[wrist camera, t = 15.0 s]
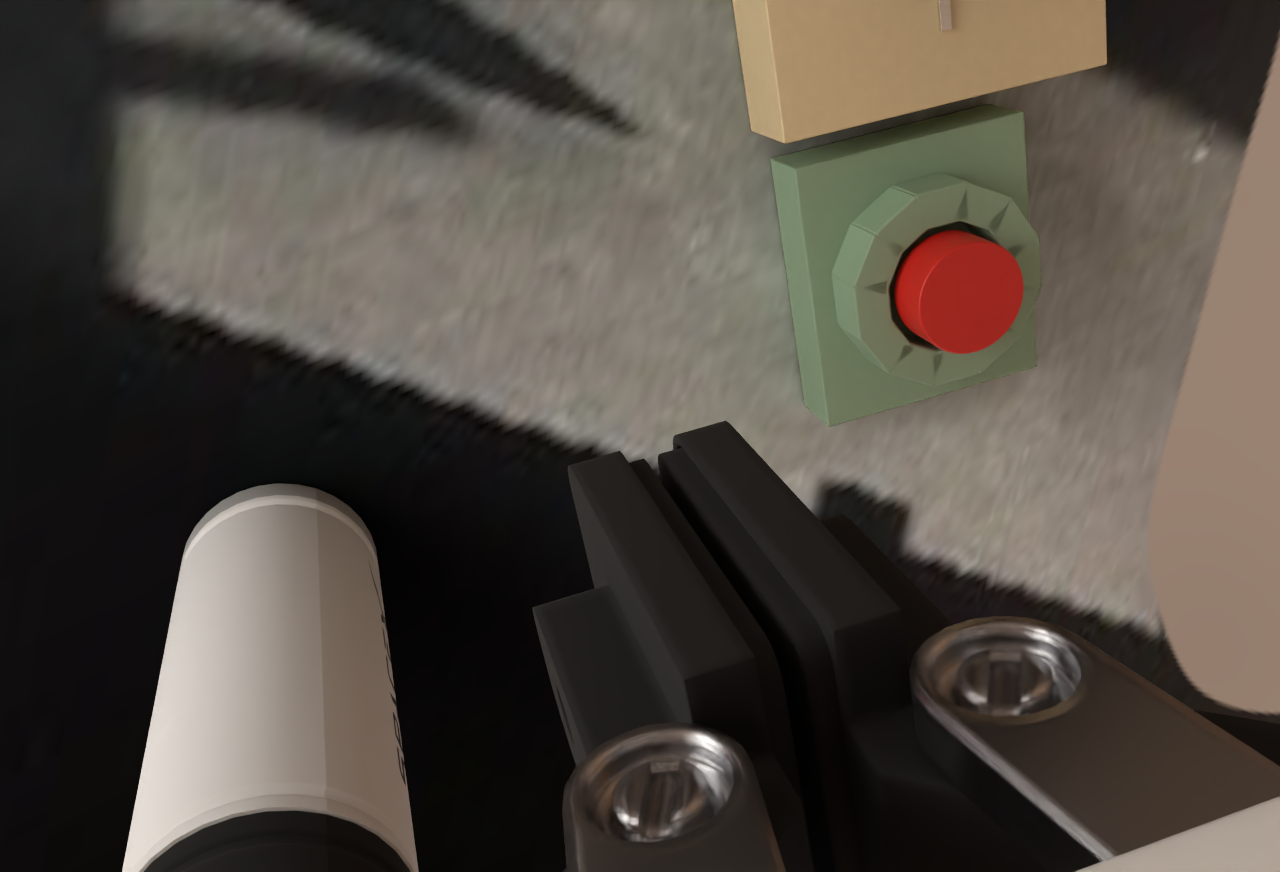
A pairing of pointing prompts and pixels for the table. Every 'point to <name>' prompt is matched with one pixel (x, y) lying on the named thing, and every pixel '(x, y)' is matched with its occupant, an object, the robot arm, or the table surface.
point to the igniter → (898, 254)
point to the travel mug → (275, 700)
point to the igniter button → (959, 291)
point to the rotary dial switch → (901, 55)
